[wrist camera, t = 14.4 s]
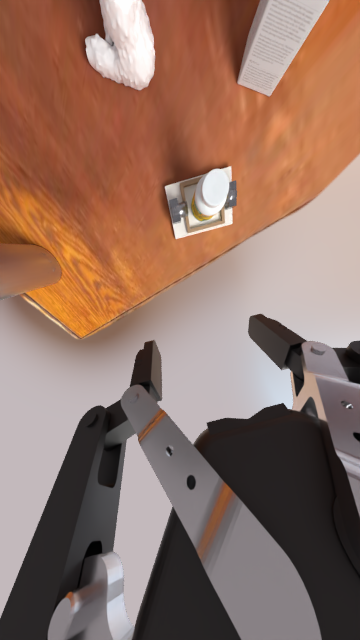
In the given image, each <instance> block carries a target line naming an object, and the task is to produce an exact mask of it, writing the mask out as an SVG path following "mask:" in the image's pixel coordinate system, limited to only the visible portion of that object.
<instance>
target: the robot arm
mask: <svg viewBox="0 0 360 640" xmlns="http://www.w3.org/2000/svg"><path fill="white" fill-rule="evenodd" d="M60 278H61V268H60V265H59V263H58V261H57V260H56V259H55V257H54V256H53V255H52V254H51V253H50V252H48V251H47V250H46V249H44V248H42V247H40V246H37V245H33V244H0V300H2V299H5V298H8V297H12V296H15V295H19V294H22V293H25V292H28V291H32V290H35V289H38V288H42V287H45V286H48V285H52V284H55V283H57V282H58V281H59V280H60ZM248 333H249V336H250V338H251V339H252V340H253V341H254V342H255V343H256V344H257V345H258V346H259V347H260V348H261V349H262V350H263V351H264V352H265V353H266V354H267V355H268V356H269V358H270V359H271V360H272V361H273V362H274V363H275V364H276V365H277V366H278V367H279V368H280V369H281V370H284V369H288V368H289V369H290V370H291V383H292V391H293V407H292V410H291V409H287V407H286V406H285V405H284V403H282V404H278V405H274V406H270V407H266V408H264V409H262V410H261V411H259V412H258V413H256V414H255V415H254V416H252V417H251V418H249V419H236V418H224V419H220V420H216V421H212V422H208V423H207V426H208V429H206V430H205V431H203V433H201V434H200V435H199V437H198V438H197V439H196V441H195V442H194V444H192V443H191V442H190V441H189V440H188V438H187V437H186V436H185V435H184V434H183V432H182V431H181V430H180V429H179V428H178V427H177V425H176V424H175V423H174V422H173V421H172V419H171V418H170V417H169V416H168V415H167V414H166V412H165V411H164V410H162V409H161V408H160V407H159V405H158V404H157V401H161V400H162V372H161V355H160V352H159V350H158V347H157V345H156V342H155V341H154V340H153V341H149V342H145V344H144V349H142V350H140V351H139V352H138V354H137V355H136V359H135V364H134V370H133V374H132V379H131V384H130V388H128V389H127V390H126V391H125V392H124V394H123V396H122V398H121V399H120V400H119V401H117V402H116V403H114V404H112V405H111V406H109V407H107V408H104V407H103V406H96V407H93V408H92V409H90V410H89V411H88V412H87V413H86V414H85V415H84V416H83V417H82V419H81V420H80V422H79V424H78V427H77V429H76V431H75V434H74V436H73V439H72V441H71V444H70V446H69V449H68V451H67V454H66V456H65V459H64V461H63V464H62V466H61V469H60V471H59V474H58V476H57V479H56V481H55V484H54V486H53V489H52V491H51V494H50V496H49V499H48V501H47V504H46V506H45V509H44V511H43V514H42V516H41V519H40V521H39V524H38V526H37V529H36V531H35V533H34V536H33V539H32V541H31V543H30V546H29V548H28V551H27V553H26V556H25V558H24V561H23V564H22V566H21V568H20V571H19V573H18V576H17V578H16V581H15V583H14V586H13V588H12V591H11V593H10V596H9V598H8V601H7V603H6V606H5V608H4V611H3V613H2V616H1V618H0V640H360V341H354V342H351V343H350V344H349V346H348V347H347V348H331V347H329V346H327V345H325V344H323V343H320V342H315V341H306V340H305V339H303V338H301V337H300V336H299V335H297V334H296V333H294V332H293V331H291V330H289V329H287V327H285V326H283V325H282V324H281V323H279V322H278V321H275V320H272V319H270V318H267V317H265V316H264V315H262V314H257V315H254V316H251V317H250V319H249V329H248ZM135 433H136V434H137V436H138V441H139V444H140V446H141V448H142V449H143V451H144V453H145V455H146V457H147V459H148V461H149V463H150V464H151V466H152V468H153V470H154V472H155V474H156V476H157V477H158V479H159V481H160V483H161V485H162V487H163V489H164V490H165V492H166V494H167V496H168V498H169V500H170V502H171V503H172V505H173V507H172V510H171V513H170V516H169V519H168V523H167V526H166V529H165V532H164V535H163V538H162V541H161V544H160V547H159V551H158V554H157V557H156V560H155V563H154V566H153V569H152V572H151V576H150V579H149V582H148V585H147V588H146V591H145V594H144V597H143V601H142V603H141V607H140V610H139V613H138V617H137V620H136V624H135V627H134V626H133V625H132V623H131V622H130V620H129V618H128V616H127V613H126V609H125V604H124V593H123V592H124V575H123V566H122V562H121V560H120V557H119V556H118V555H117V554H116V553H115V552H113V546H114V538H115V530H116V522H117V513H118V505H119V497H120V489H121V481H122V472H123V464H124V456H125V447H126V440H127V439H128V438H129V437H131V436H132V435H134V434H135Z"/></svg>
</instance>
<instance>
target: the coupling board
mask: <svg viewBox="0 0 360 640" xmlns="http://www.w3.org/2000/svg"><path fill="white" fill-rule="evenodd" d="M221 170H223V171H224V172H225V173H226V174H227V176H228V179H229V182H231V166H230V167H227V168H223V169H221ZM204 175H205V174H203V175H200V176H197V177H194V178H190V179H187V180H184V181H180V182H177V183H174V184H171V185H167V186H165V190H166V195H167V200H168V205H169V209H170V204H169V200H171V199H175V198H177V200H178V203H180V202H184V201H187V205H188V214H189V215H188V216H186V217H183V218H181V223H177V224H173V219H172V214H171V209H170V214H171V219H172V224H173V229H174V233H175V238H176V239H178V238H182V237H185V236H189V235H193V234H197V233H200V232H204V231H208V230H211V229H215V228H219V227H222V226H226V225H230V224H232V208H231V209H228V210H225V206H223V207H222V209H221V210H220V211H219V212H218V213H217V214H215V215H214V216H213V217H212V218H211V219H209V220H207V221H203V222H201V221H198V220H197V219H195V217H194V216H193V214H192V211H191V202H192V198H193V195H194V192H195V189H196V186H197V184H198V182H199V180H200V179H201V178H202V177H203V176H204Z"/></svg>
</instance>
